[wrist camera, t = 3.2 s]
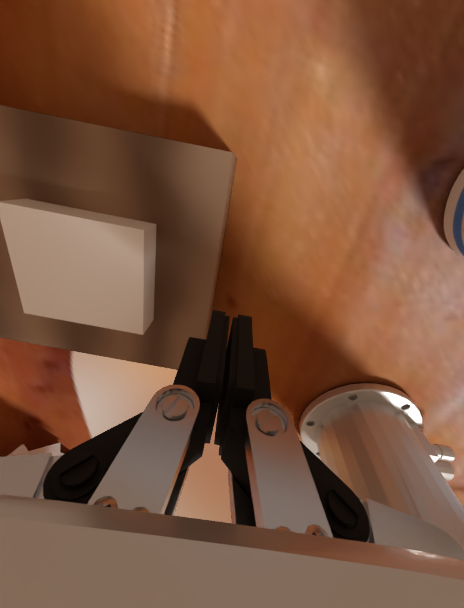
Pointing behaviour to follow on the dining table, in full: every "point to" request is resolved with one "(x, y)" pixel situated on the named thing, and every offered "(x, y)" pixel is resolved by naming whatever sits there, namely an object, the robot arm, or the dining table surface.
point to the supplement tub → (455, 216)
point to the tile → (81, 264)
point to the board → (128, 204)
